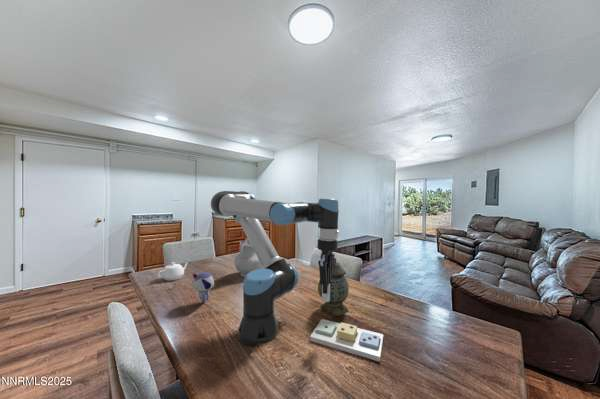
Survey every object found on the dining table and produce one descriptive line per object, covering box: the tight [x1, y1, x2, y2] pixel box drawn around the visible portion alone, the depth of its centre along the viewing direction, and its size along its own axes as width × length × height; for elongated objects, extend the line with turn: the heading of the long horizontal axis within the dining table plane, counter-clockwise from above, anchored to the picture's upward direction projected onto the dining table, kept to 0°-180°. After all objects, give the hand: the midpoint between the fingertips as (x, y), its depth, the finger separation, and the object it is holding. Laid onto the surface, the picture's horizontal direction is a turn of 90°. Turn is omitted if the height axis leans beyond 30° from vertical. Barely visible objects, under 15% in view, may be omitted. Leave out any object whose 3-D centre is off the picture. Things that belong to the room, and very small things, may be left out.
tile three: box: [360, 332, 380, 350], centre depth 79 cm, size 6×6×3 cm
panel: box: [309, 318, 384, 363], centre depth 82 cm, size 24×13×2 cm, turn 65°
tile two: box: [337, 322, 358, 342], centre depth 82 cm, size 6×6×3 cm
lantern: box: [317, 257, 350, 316], centre depth 105 cm, size 14×14×25 cm
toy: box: [192, 271, 215, 304], centre depth 111 cm, size 11×10×15 cm
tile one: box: [316, 320, 336, 337], centre depth 85 cm, size 6×6×3 cm
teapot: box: [157, 261, 189, 282], centre depth 144 cm, size 20×12×10 cm, turn 150°
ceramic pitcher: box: [233, 237, 262, 278], centre depth 151 cm, size 22×20×25 cm
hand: (325, 300), depth 85 cm, fingers closed
